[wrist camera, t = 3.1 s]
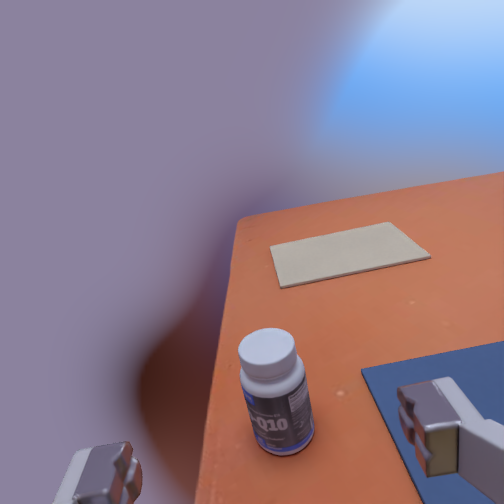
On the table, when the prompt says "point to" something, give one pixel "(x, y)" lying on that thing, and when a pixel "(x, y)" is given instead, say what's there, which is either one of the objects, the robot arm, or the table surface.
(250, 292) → the table surface
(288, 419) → the pill bottle
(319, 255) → the cream mat
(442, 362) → the blue mat
